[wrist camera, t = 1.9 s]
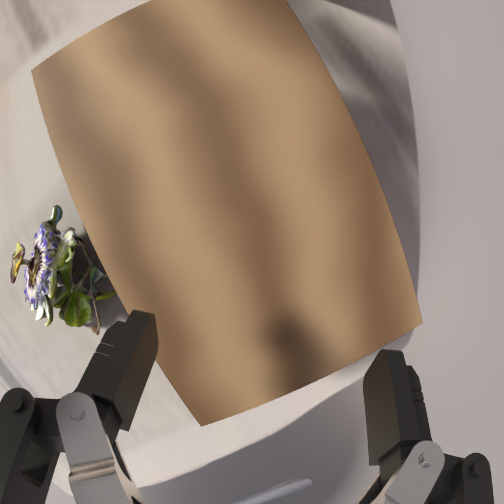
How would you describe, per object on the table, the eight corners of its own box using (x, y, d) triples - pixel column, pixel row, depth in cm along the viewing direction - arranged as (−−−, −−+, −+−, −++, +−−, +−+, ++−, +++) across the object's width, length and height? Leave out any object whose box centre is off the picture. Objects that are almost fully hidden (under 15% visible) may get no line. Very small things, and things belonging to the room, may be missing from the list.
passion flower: (73, 243, 38) (33, 188, 27) (143, 269, 37) (113, 212, 26) (37, 321, 33) (-21, 284, 22) (106, 357, 32) (55, 331, 21)
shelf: (210, 327, 35) (201, 426, 18) (113, 122, 31) (31, 70, 14) (339, 268, 35) (422, 323, 18) (245, 61, 31) (260, -36, 14)
